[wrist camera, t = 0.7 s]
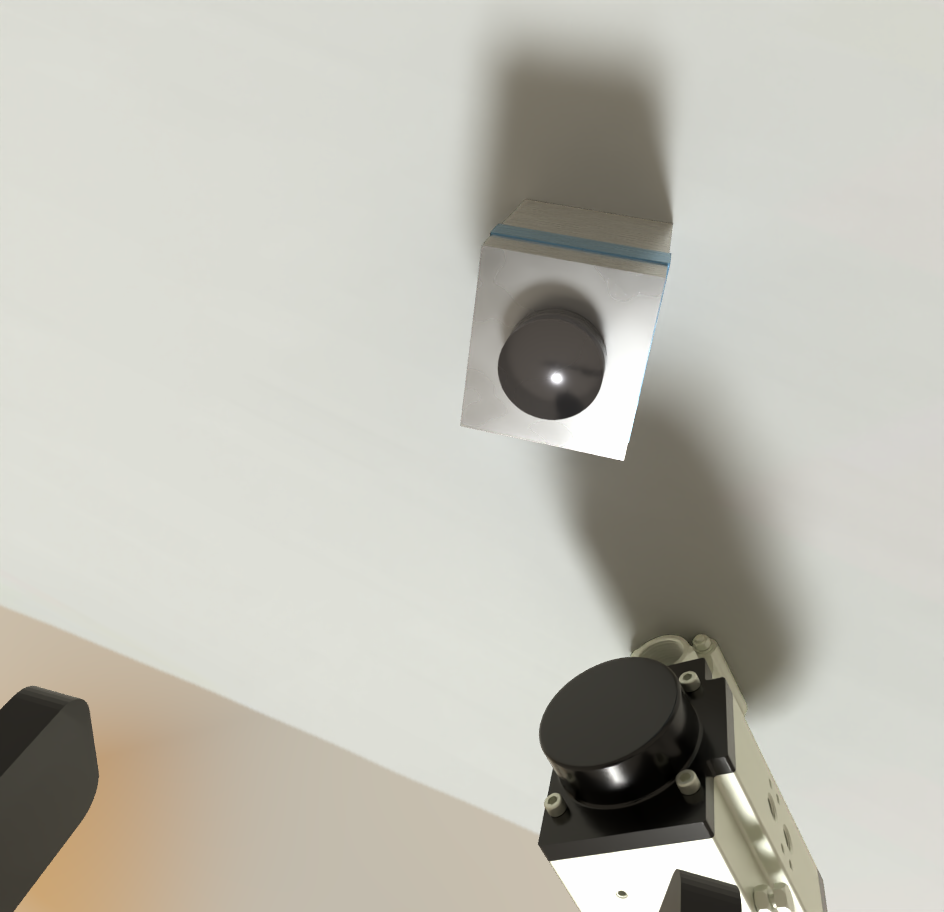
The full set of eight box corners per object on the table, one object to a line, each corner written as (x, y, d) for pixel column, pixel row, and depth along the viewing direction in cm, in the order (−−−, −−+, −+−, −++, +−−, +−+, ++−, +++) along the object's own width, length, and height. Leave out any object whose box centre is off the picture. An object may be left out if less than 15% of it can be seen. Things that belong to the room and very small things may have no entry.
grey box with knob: (675, 222, 25) (666, 288, 19) (639, 378, 28) (622, 480, 21) (524, 196, 26) (470, 252, 20) (502, 351, 28) (448, 443, 22)
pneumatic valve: (687, 794, 35) (681, 1117, 25) (569, 573, 32) (505, 844, 21) (822, 772, 33) (877, 1116, 23) (712, 531, 29) (718, 811, 19)
